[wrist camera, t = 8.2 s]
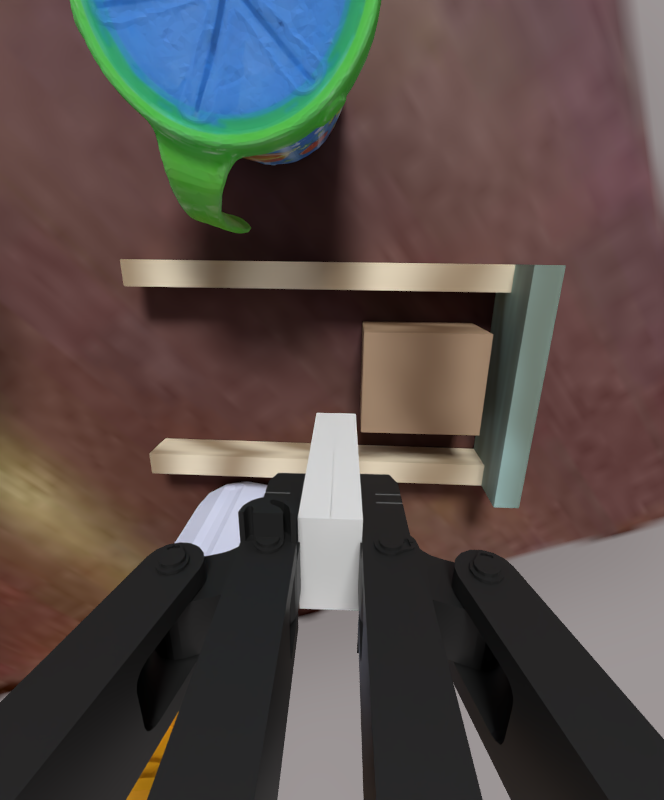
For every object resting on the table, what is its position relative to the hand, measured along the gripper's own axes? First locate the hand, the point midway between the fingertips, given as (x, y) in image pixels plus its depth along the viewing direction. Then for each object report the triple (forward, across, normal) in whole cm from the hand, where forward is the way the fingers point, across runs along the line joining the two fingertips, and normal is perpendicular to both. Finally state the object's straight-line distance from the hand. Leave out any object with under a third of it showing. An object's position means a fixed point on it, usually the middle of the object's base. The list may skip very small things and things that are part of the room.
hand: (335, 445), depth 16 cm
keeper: (+12, +5, 0) cm, 13 cm away
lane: (+12, -1, 0) cm, 12 cm away
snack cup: (+13, -4, +16) cm, 20 cm away
